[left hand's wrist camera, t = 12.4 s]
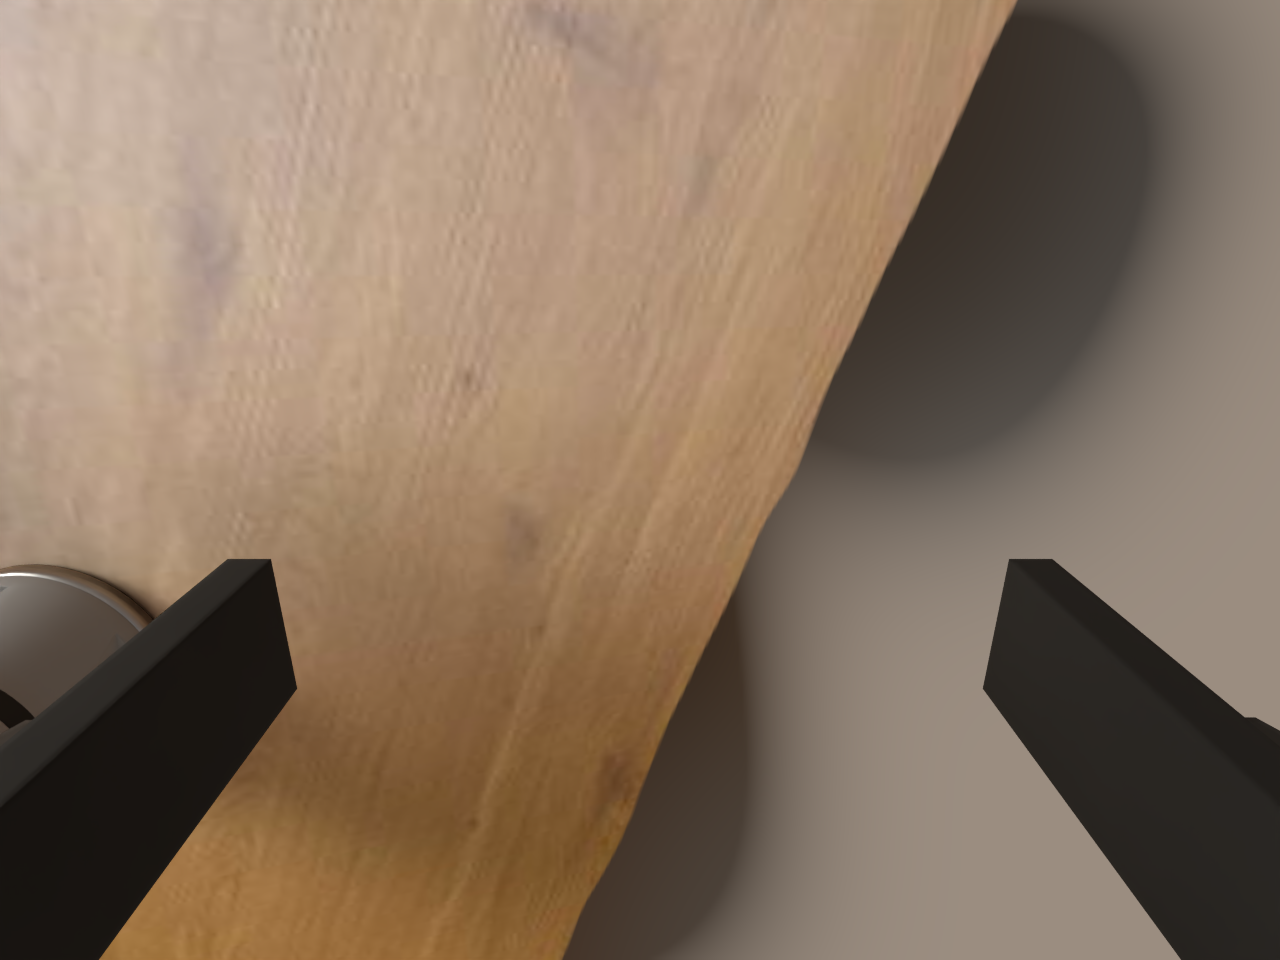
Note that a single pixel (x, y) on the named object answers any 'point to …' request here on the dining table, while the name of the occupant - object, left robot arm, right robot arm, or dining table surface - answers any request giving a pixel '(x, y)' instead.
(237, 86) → the dining table surface
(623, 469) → the dining table surface
